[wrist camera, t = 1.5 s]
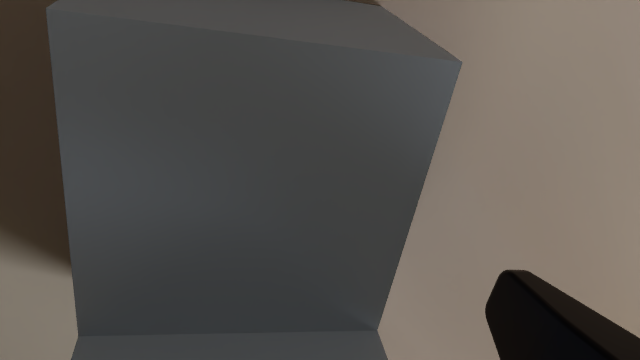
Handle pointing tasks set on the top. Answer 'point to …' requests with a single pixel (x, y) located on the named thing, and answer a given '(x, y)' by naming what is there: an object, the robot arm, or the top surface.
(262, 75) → the grey stepped block
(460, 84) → the top surface
